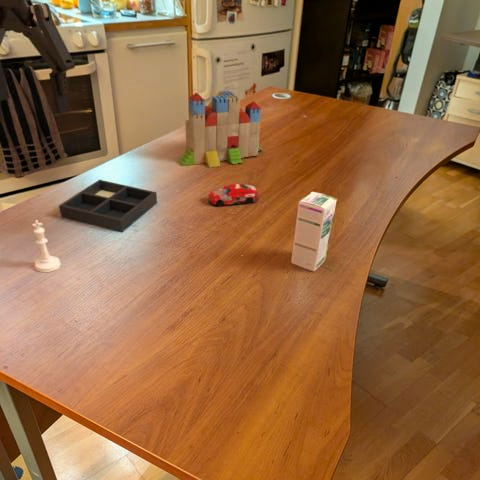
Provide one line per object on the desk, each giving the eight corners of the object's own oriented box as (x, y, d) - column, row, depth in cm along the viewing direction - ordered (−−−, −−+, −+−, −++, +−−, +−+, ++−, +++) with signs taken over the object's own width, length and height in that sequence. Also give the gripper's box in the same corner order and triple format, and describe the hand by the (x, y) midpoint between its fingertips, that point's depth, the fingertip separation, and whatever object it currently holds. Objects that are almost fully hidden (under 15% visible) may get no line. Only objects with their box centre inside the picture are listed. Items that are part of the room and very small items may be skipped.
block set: (253, 144, 152) (257, 80, 140) (273, 159, 142) (279, 92, 130) (171, 153, 142) (168, 85, 130) (186, 170, 132) (185, 99, 120)
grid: (61, 216, 108) (58, 205, 106) (101, 190, 120) (99, 179, 118) (122, 232, 104) (120, 220, 102) (157, 202, 116) (156, 192, 114)
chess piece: (34, 260, 94) (22, 216, 87) (59, 257, 95) (49, 213, 89) (35, 274, 90) (22, 228, 84) (61, 270, 92) (51, 225, 85)
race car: (210, 208, 116) (210, 193, 113) (205, 198, 120) (205, 183, 117) (260, 203, 119) (261, 189, 116) (254, 194, 123) (255, 180, 120)
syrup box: (314, 272, 96) (326, 208, 86) (289, 263, 98) (298, 199, 89) (325, 260, 100) (338, 198, 90) (301, 251, 102) (311, 190, 92)
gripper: (82, -31, 72) (101, 111, 86) (-42, -45, 78) (-7, 90, 92) (51, -30, 67) (76, 122, 81) (-80, -44, 73) (-36, 99, 87)
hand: (32, 105), depth 86 cm, fingers open, 13 cm apart
